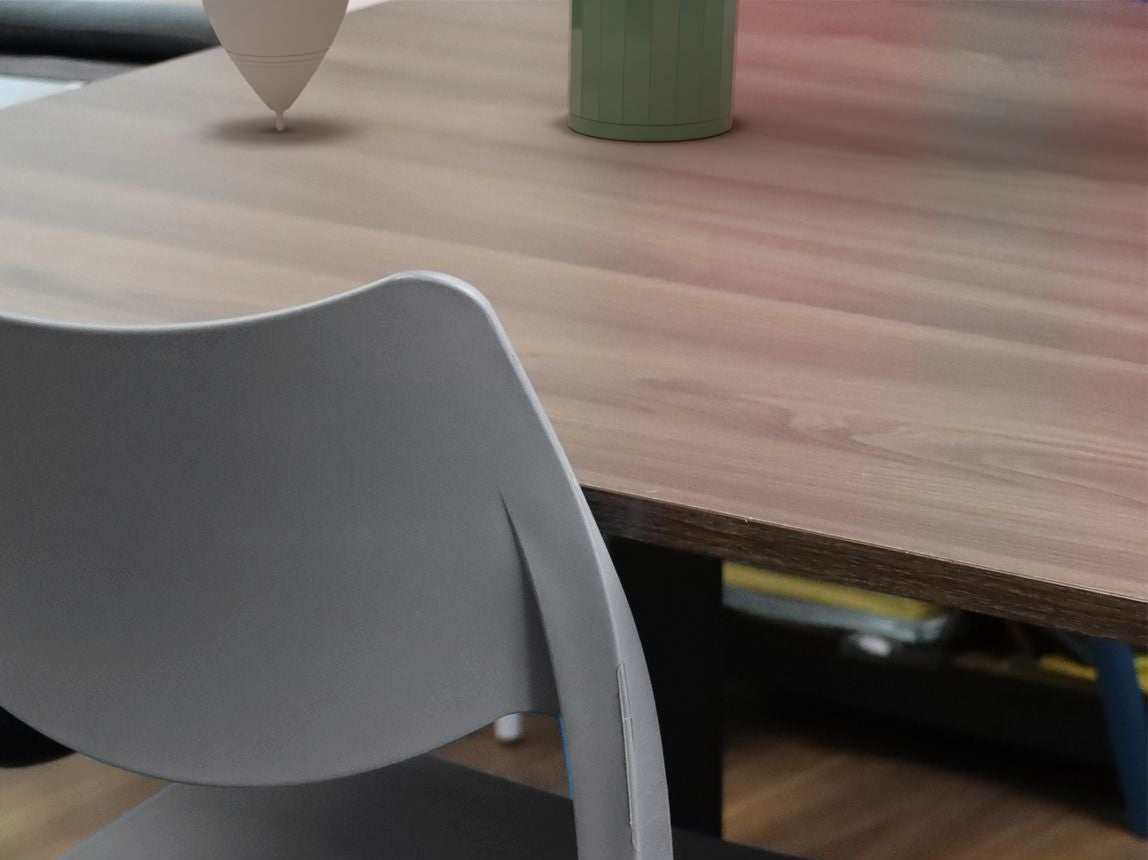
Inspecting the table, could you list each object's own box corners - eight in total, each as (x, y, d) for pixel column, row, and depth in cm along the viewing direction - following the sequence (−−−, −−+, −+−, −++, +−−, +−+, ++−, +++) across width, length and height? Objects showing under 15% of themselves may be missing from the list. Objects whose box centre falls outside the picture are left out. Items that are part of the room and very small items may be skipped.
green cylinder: (760, 118, 124) (772, -102, 119) (685, 148, 117) (694, -83, 113) (617, 102, 128) (623, -110, 123) (537, 130, 122) (540, -93, 117)
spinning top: (197, 119, 125) (186, -118, 120) (338, 112, 127) (332, -123, 121) (218, 149, 119) (206, -101, 113) (366, 141, 120) (361, -107, 115)
